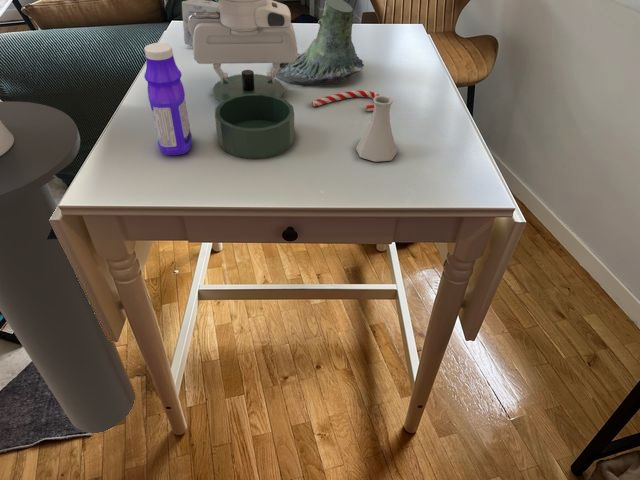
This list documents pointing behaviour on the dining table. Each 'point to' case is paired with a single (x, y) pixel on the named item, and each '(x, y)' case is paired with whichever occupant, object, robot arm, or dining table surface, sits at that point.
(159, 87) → the bottle
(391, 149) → the flask
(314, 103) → the candy cane
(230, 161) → the dining table surface
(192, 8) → the incense holder
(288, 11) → the robot arm
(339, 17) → the tree stump
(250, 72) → the bin lid
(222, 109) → the bin
